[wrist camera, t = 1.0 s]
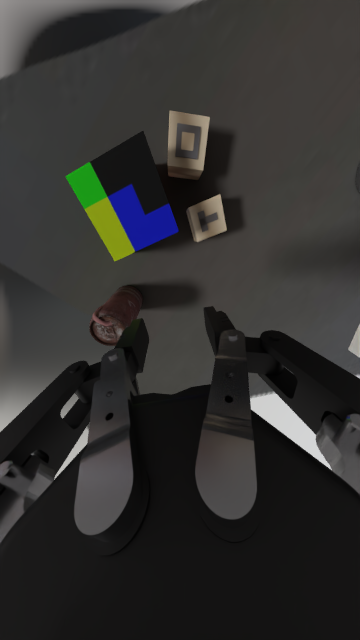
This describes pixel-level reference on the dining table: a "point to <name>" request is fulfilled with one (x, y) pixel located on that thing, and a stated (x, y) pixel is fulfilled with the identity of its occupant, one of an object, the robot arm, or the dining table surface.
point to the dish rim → (355, 343)
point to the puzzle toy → (125, 197)
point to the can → (116, 315)
